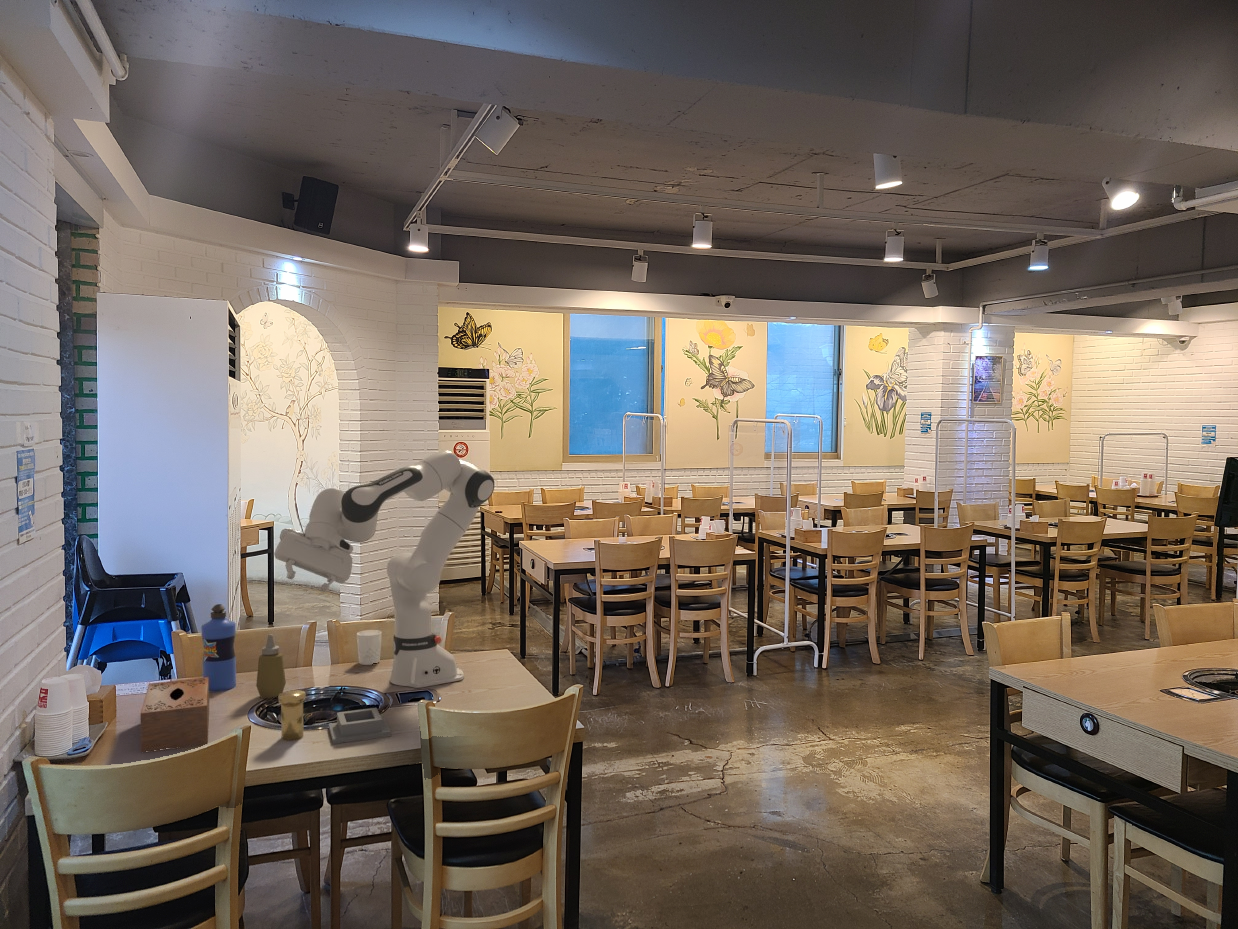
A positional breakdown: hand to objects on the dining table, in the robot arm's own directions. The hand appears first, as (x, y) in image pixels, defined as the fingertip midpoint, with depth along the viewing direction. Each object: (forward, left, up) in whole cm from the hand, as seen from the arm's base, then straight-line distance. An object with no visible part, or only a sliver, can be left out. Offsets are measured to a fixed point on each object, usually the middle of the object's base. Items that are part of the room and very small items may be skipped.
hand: (307, 584), depth 221 cm
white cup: (-23, -56, -38) cm, 71 cm away
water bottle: (+22, -46, -38) cm, 64 cm away
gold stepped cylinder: (+4, +6, -38) cm, 38 cm away
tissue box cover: (+31, -10, -38) cm, 50 cm away
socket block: (-12, +9, -38) cm, 40 cm away
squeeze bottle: (+8, -31, -38) cm, 50 cm away
